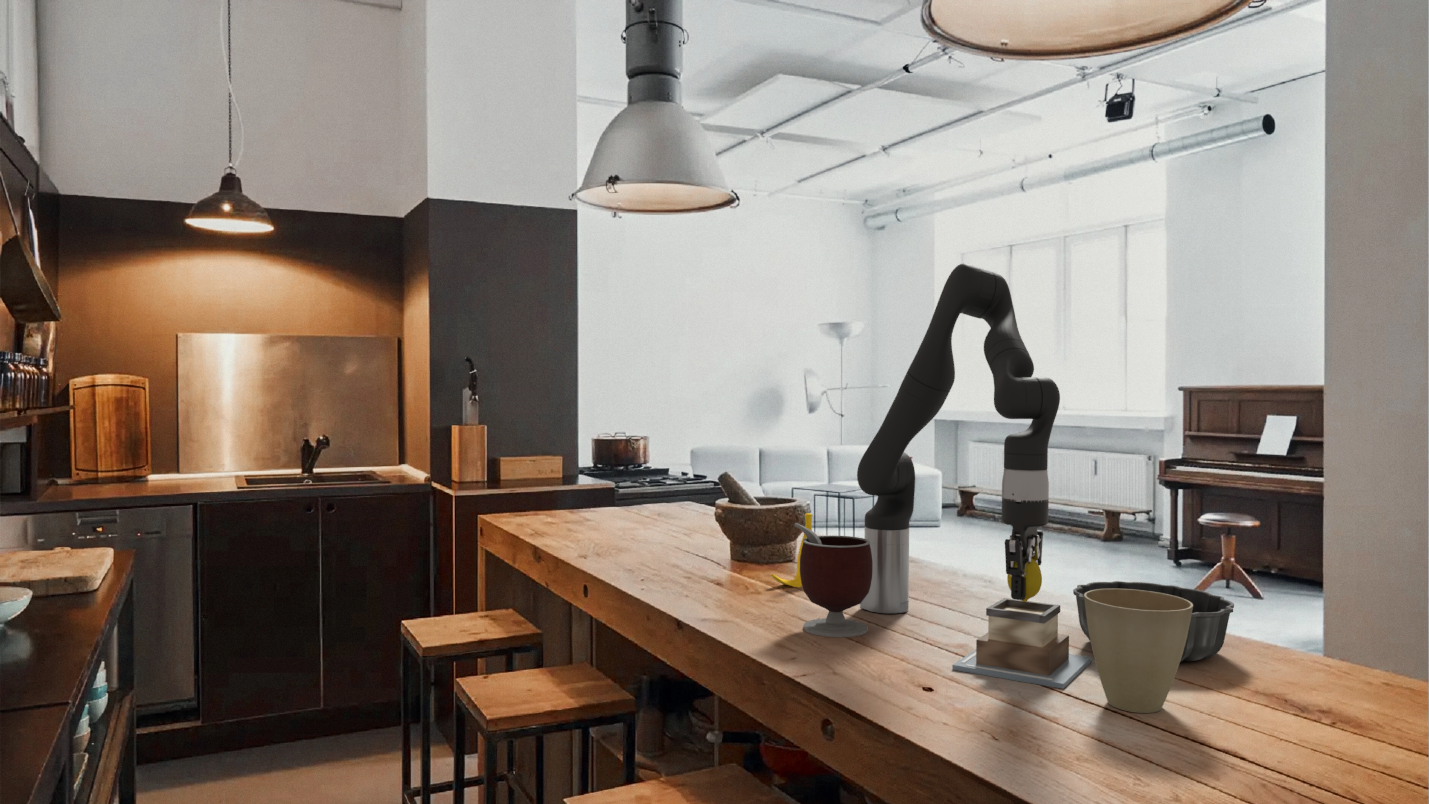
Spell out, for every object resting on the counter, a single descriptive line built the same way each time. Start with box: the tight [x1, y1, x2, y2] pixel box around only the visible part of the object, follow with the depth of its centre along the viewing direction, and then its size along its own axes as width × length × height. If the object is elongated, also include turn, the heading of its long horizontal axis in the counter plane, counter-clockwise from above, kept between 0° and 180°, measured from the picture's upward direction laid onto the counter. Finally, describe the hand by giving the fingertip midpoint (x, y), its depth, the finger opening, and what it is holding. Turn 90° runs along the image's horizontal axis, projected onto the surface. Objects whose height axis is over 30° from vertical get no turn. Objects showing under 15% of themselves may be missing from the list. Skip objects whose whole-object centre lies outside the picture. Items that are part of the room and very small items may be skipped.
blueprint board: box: [951, 649, 1092, 690], centre depth 169 cm, size 18×18×1 cm
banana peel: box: [770, 512, 813, 588], centre depth 235 cm, size 17×19×17 cm
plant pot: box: [1084, 588, 1193, 714], centre depth 149 cm, size 15×15×16 cm
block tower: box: [975, 597, 1070, 676], centre depth 169 cm, size 12×12×9 cm
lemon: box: [1007, 557, 1043, 602], centre depth 169 cm, size 6×6×8 cm
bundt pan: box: [1072, 580, 1235, 663], centre depth 179 cm, size 26×26×10 cm
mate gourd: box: [793, 522, 873, 638], centre depth 193 cm, size 16×14×20 cm
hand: (1023, 595), depth 169 cm, fingers closed on lemon, 5 cm apart
